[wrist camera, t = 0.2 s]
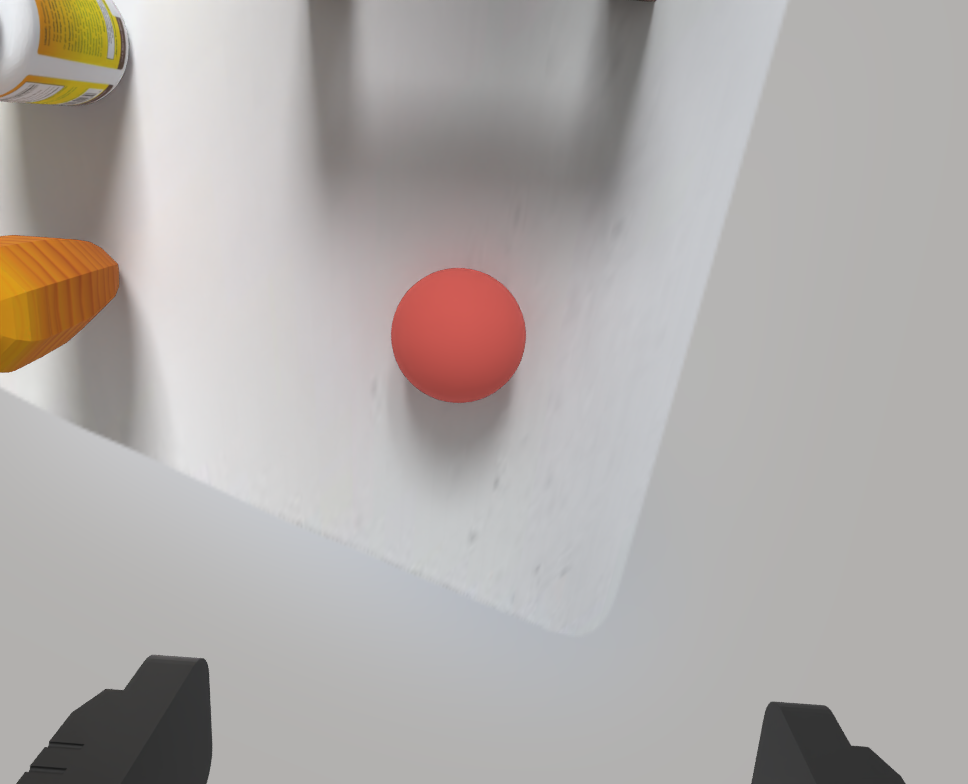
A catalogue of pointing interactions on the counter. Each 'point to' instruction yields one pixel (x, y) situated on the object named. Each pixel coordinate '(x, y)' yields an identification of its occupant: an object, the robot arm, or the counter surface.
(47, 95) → the supplement bottle
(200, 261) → the counter surface
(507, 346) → the ball
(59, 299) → the carrot
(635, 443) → the counter surface
